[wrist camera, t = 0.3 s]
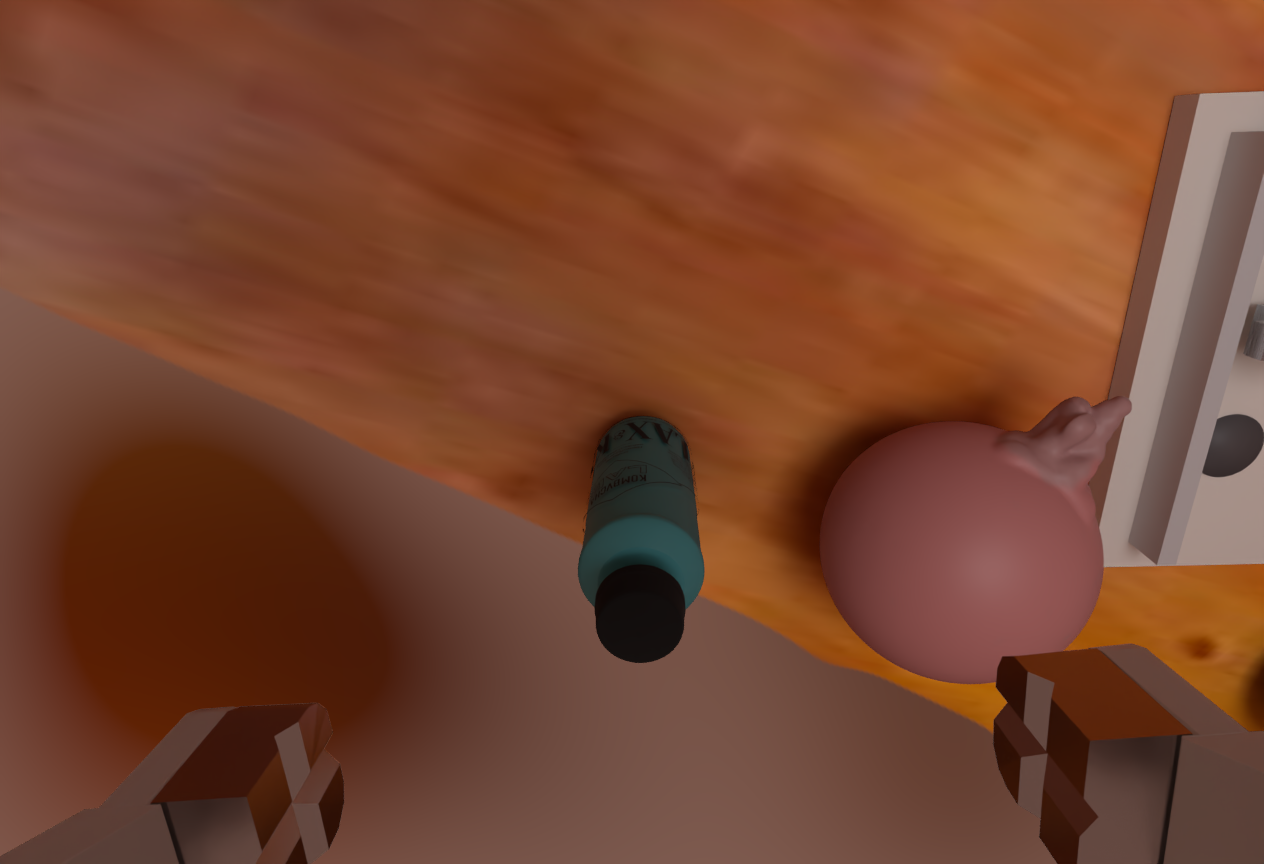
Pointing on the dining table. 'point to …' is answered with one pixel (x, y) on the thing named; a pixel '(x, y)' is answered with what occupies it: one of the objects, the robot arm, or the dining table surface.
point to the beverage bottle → (641, 539)
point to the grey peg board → (1193, 353)
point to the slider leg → (1256, 335)
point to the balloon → (970, 540)
